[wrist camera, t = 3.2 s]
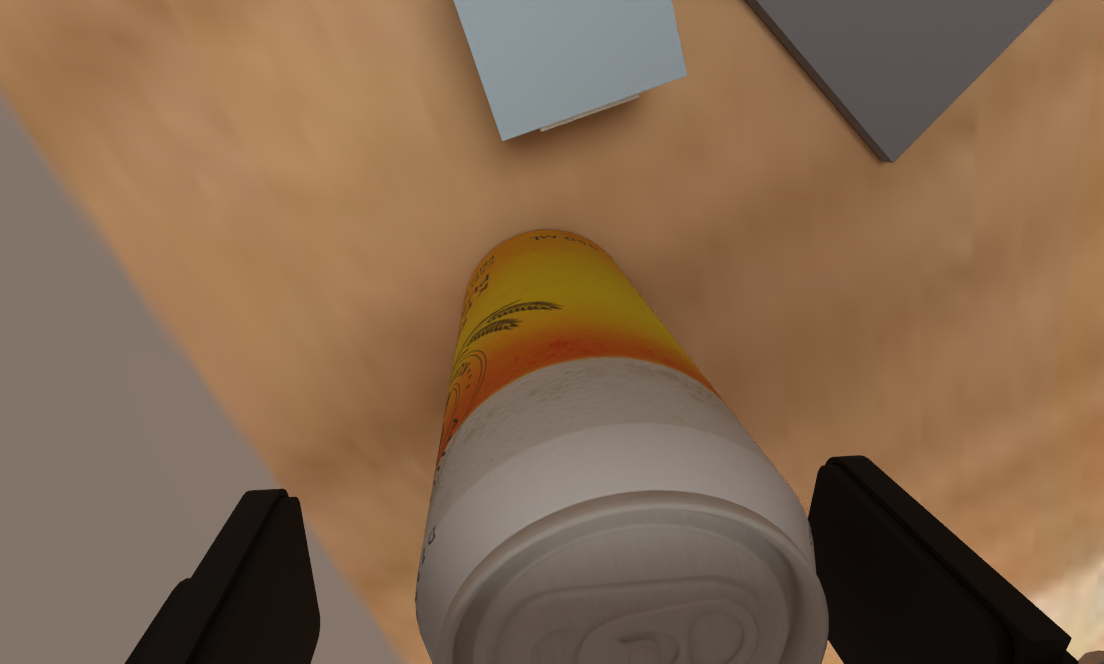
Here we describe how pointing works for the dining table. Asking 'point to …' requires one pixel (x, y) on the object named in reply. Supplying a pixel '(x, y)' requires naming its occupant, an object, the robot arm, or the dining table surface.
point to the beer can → (601, 488)
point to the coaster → (895, 55)
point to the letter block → (568, 56)
